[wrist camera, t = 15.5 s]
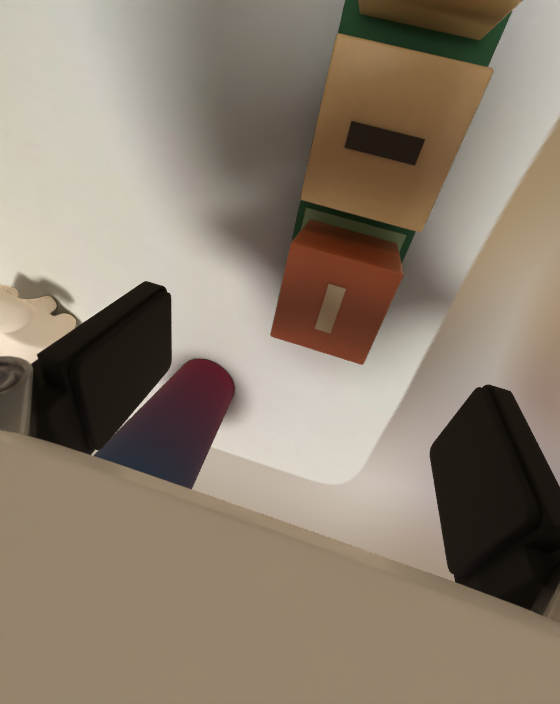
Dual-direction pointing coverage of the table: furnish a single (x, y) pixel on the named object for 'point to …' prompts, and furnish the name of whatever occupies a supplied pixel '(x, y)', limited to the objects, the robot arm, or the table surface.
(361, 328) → the slotted orange cube
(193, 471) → the cup
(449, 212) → the table surface
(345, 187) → the green tile rack
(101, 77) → the table surface
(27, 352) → the elephant figurine
